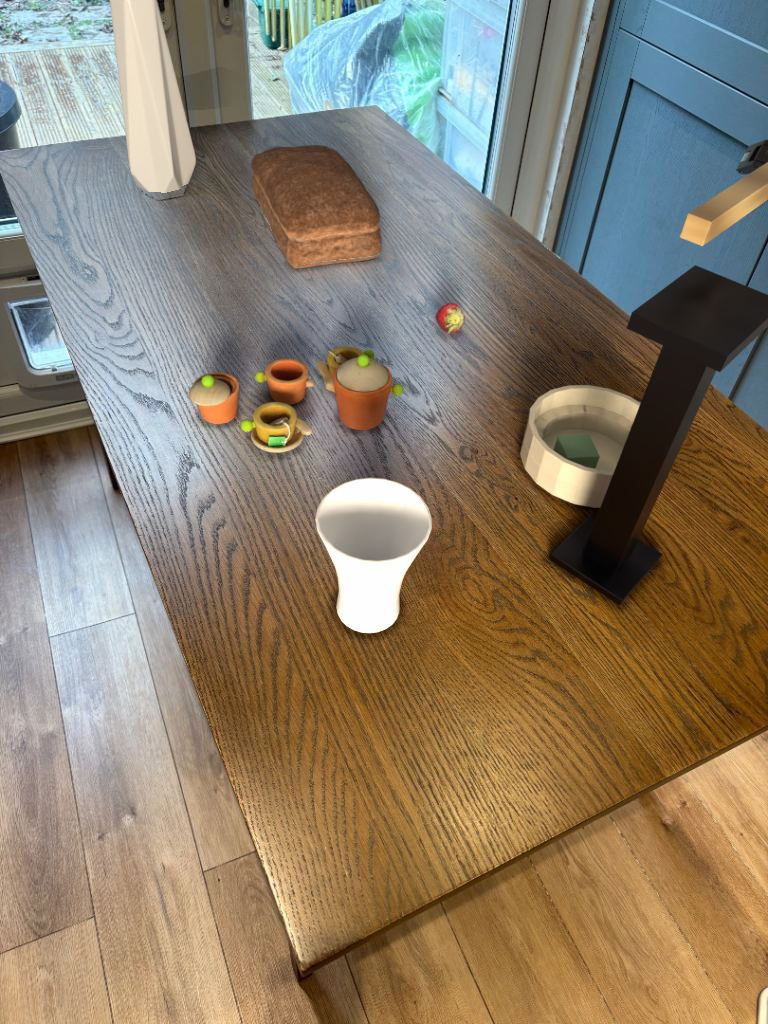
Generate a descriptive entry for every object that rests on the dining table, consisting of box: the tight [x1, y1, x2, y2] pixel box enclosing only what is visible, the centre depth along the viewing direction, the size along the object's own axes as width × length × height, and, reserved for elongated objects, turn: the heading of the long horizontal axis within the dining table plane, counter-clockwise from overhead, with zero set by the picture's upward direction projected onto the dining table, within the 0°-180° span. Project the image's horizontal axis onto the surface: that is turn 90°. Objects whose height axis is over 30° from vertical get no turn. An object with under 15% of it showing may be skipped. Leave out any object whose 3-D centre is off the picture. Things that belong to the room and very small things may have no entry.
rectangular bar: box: [679, 162, 768, 247], centre depth 64 cm, size 24×2×2 cm, turn 137°
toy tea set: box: [188, 345, 405, 453], centre depth 94 cm, size 26×16×10 cm, turn 116°
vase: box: [109, 0, 197, 193], centre depth 127 cm, size 12×12×33 cm
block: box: [554, 434, 600, 469], centre depth 91 cm, size 4×4×4 cm
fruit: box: [435, 302, 466, 335], centre depth 111 cm, size 4×6×5 cm
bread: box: [250, 144, 382, 269], centre depth 129 cm, size 17×29×11 cm, turn 19°
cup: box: [314, 477, 433, 634], centre depth 72 cm, size 10×10×14 cm
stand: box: [548, 264, 768, 606], centre depth 71 cm, size 11×9×32 cm
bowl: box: [519, 384, 641, 509], centre depth 92 cm, size 16×16×6 cm
